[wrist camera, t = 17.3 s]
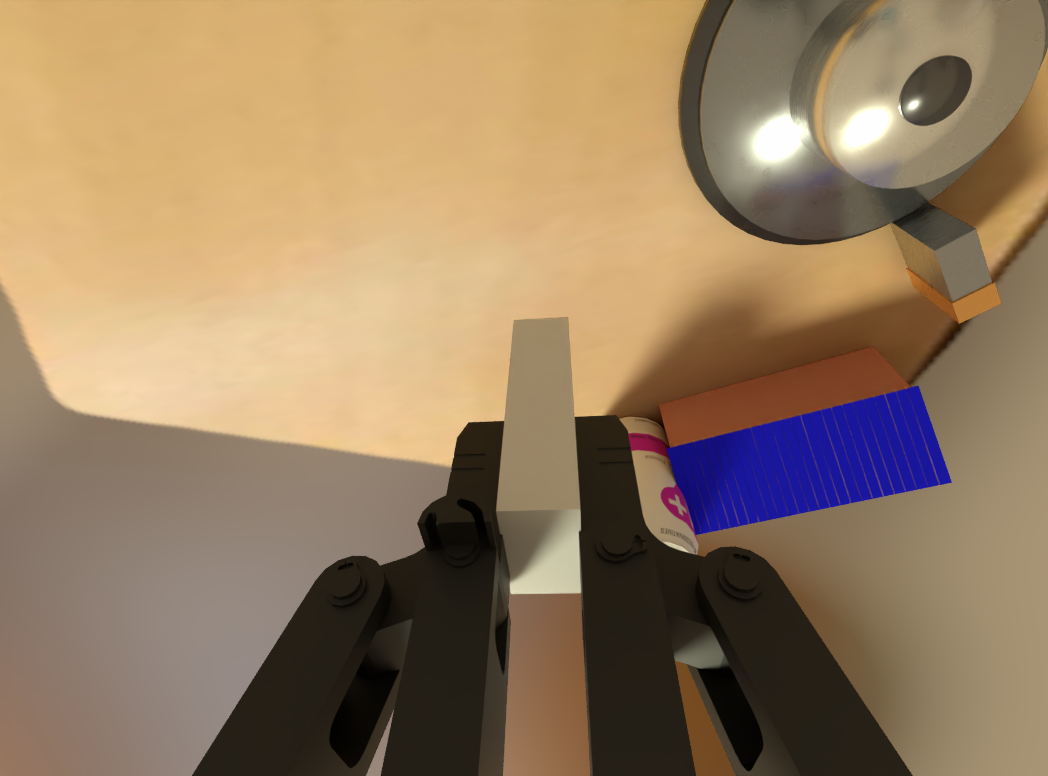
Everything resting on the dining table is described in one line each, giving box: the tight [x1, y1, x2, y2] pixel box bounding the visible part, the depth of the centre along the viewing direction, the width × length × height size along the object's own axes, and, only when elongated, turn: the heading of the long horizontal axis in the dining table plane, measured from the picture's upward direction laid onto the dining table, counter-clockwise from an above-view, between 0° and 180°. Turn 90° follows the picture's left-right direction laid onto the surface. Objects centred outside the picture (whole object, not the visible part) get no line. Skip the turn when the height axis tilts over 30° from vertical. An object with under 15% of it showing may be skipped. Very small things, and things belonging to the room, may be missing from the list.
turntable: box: [698, 0, 1048, 324], centre depth 33 cm, size 27×20×6 cm
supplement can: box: [619, 417, 698, 555], centre depth 49 cm, size 8×8×15 cm
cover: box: [789, 0, 1045, 189], centre depth 30 cm, size 10×10×6 cm
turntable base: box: [678, 0, 889, 245], centre depth 34 cm, size 22×22×1 cm
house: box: [659, 346, 951, 535], centre depth 48 cm, size 12×20×12 cm, turn 112°
